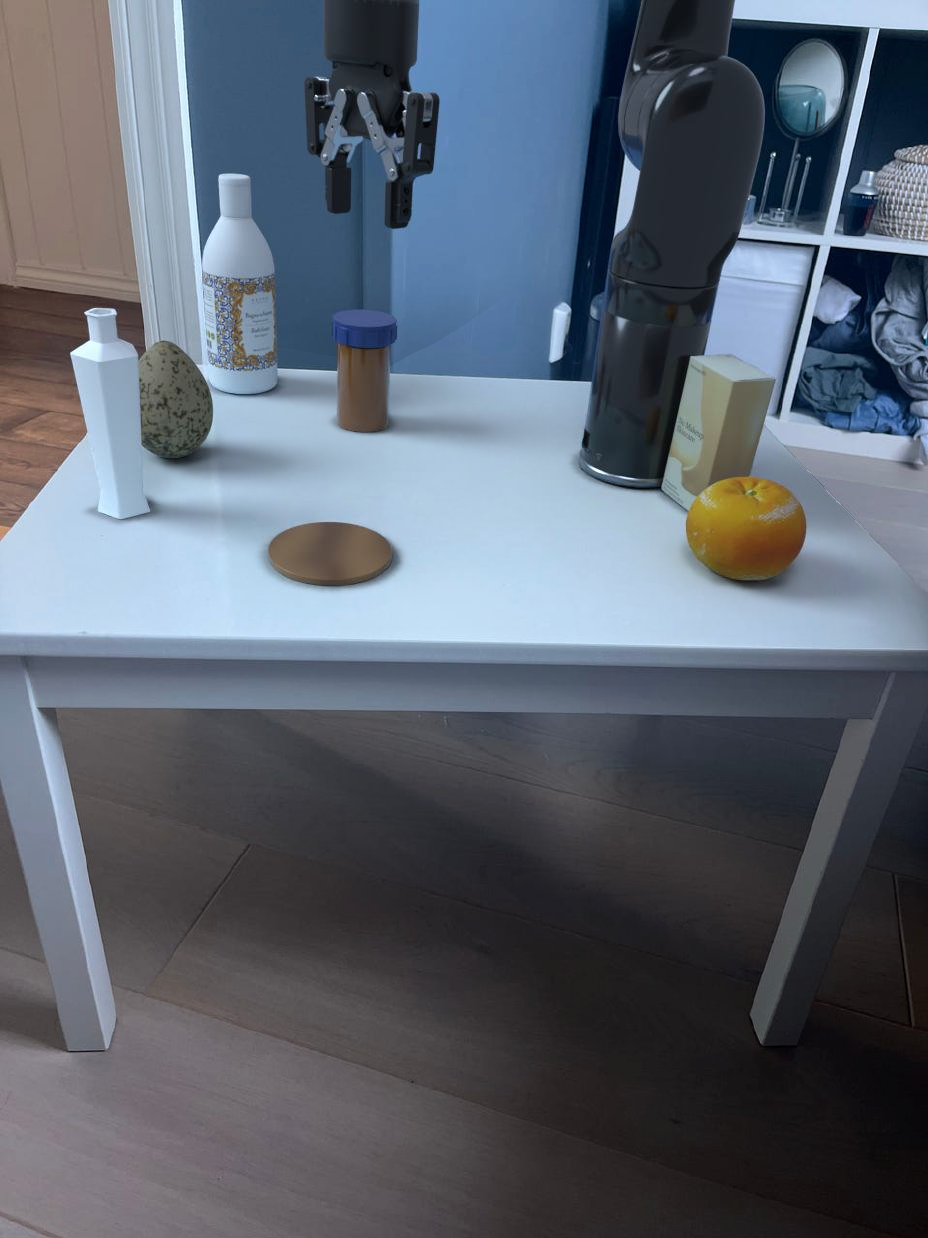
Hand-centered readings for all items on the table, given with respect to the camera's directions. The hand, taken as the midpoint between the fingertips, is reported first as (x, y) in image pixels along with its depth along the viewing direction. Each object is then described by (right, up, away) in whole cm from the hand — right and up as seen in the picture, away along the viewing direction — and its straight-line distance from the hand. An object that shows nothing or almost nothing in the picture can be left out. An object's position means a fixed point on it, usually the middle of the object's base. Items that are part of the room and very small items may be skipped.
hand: (366, 219), depth 85 cm
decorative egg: (-17, -21, 0) cm, 27 cm away
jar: (-1, -16, +10) cm, 19 cm away
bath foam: (-14, -11, +17) cm, 24 cm away
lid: (-1, -8, +5) cm, 9 cm away
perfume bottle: (-18, -26, -9) cm, 33 cm away
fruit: (+29, -31, -10) cm, 44 cm away
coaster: (-1, -30, -13) cm, 33 cm away
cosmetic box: (+29, -25, 0) cm, 38 cm away
